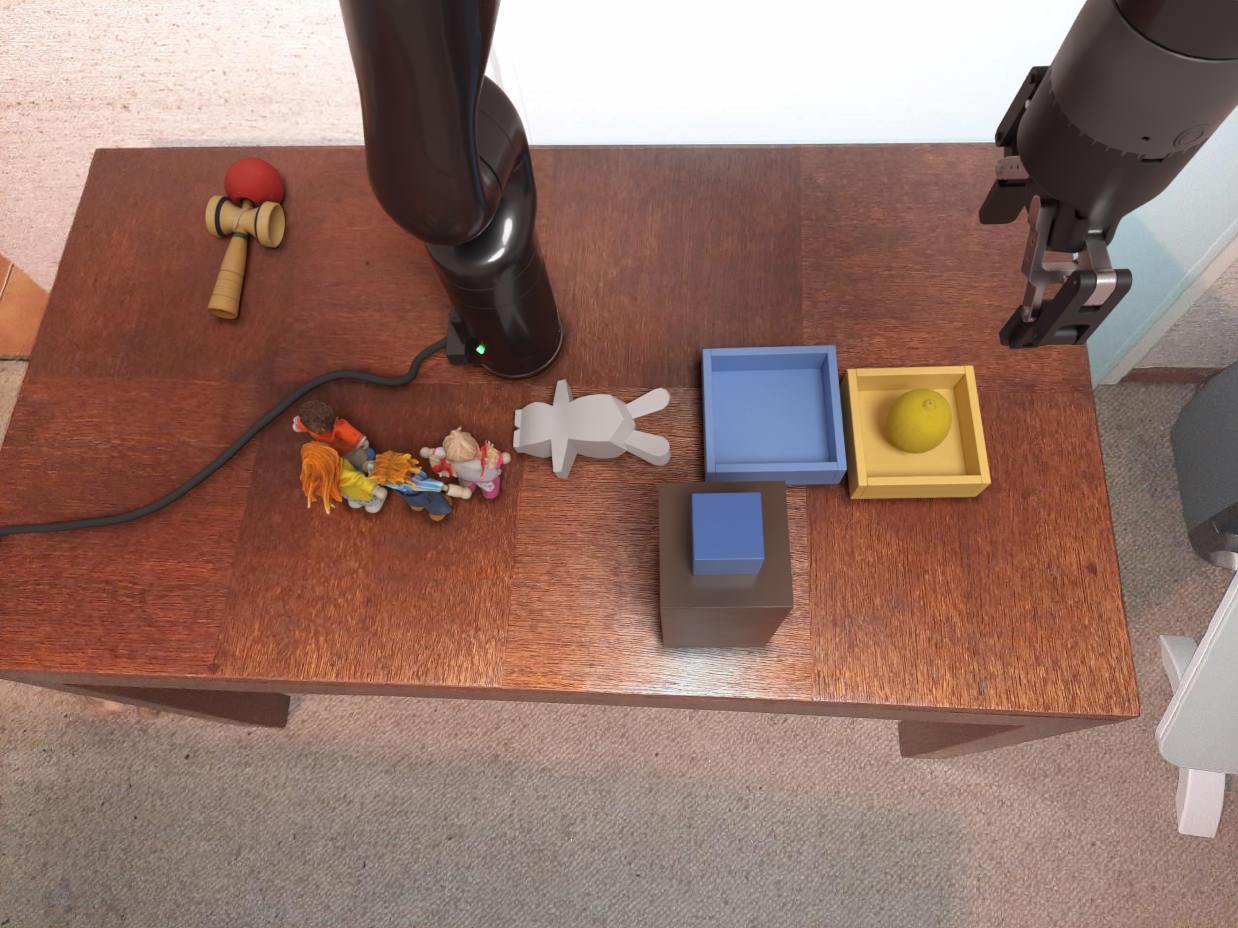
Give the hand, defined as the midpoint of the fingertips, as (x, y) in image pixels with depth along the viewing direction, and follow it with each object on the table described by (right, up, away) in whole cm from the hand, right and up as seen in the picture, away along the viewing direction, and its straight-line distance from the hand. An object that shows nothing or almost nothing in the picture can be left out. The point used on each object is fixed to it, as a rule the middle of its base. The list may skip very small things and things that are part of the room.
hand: (1005, 278), depth 53 cm
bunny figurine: (-26, -9, +32) cm, 42 cm away
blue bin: (-9, -7, +31) cm, 33 cm away
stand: (-15, -24, +26) cm, 38 cm away
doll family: (-44, -15, +31) cm, 56 cm away
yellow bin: (+4, -9, +29) cm, 31 cm away
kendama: (-64, +12, +42) cm, 77 cm away
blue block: (-17, -17, +7) cm, 24 cm away
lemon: (+4, -9, +29) cm, 31 cm away
